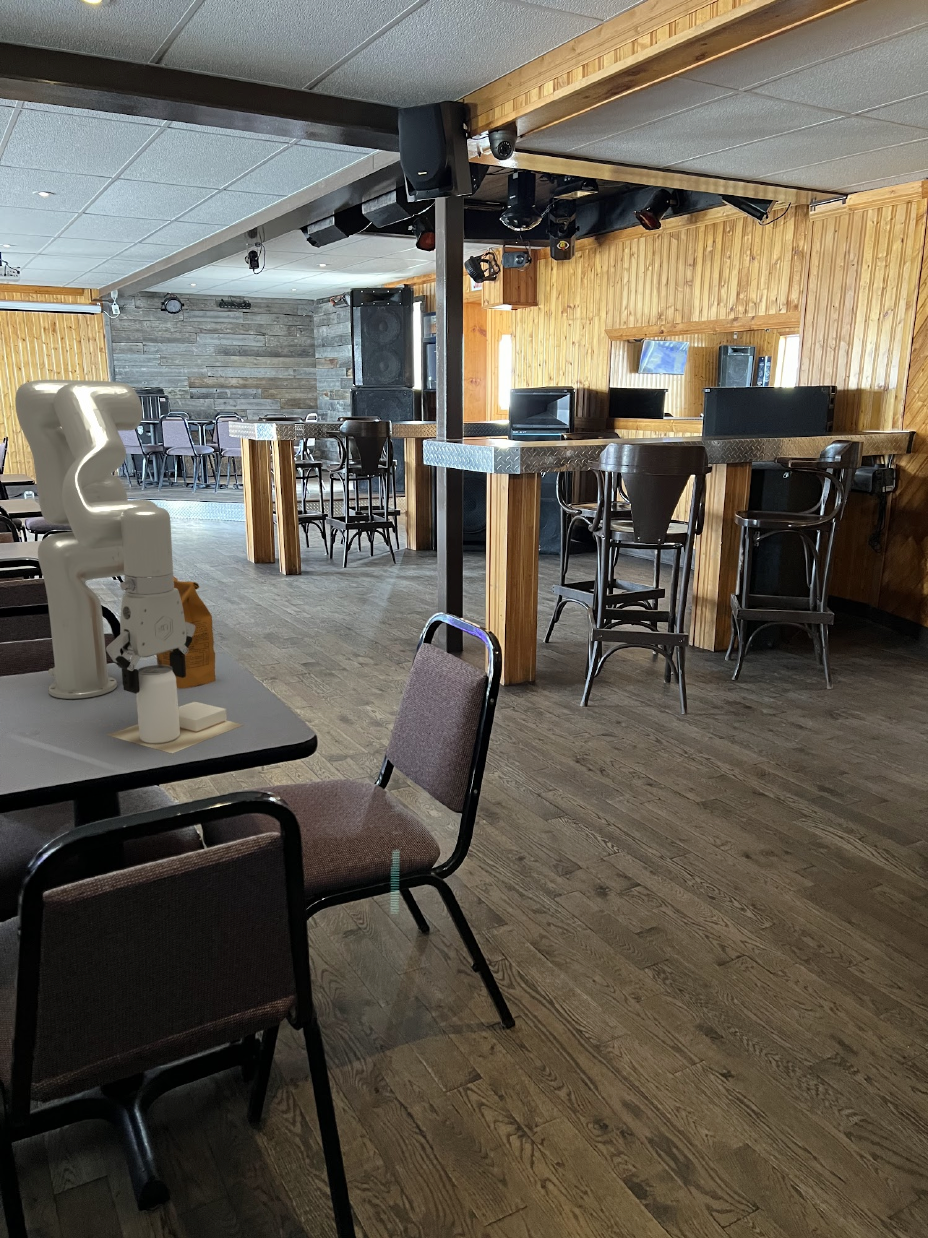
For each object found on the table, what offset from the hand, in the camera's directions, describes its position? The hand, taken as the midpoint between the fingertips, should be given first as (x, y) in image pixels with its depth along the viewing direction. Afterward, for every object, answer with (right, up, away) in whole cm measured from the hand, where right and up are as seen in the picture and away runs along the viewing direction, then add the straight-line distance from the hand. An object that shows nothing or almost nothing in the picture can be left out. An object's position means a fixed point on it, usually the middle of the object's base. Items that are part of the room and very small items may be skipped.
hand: (155, 683), depth 154 cm
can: (0, -9, +1) cm, 10 cm away
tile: (+1, -6, +10) cm, 12 cm away
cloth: (+2, -9, +5) cm, 11 cm away
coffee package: (-5, -3, +35) cm, 35 cm away
